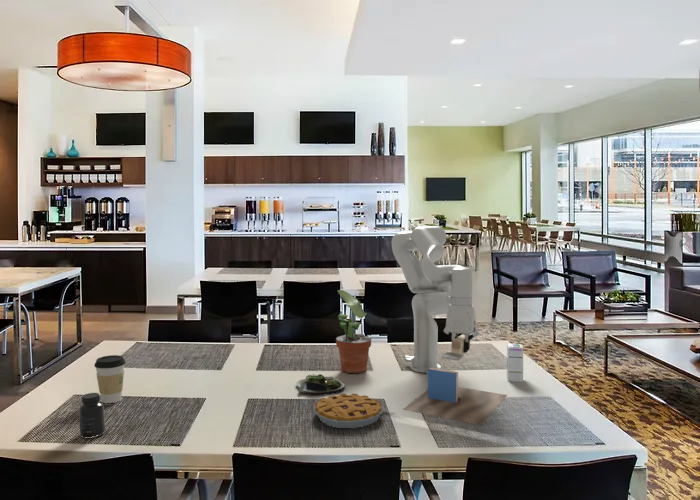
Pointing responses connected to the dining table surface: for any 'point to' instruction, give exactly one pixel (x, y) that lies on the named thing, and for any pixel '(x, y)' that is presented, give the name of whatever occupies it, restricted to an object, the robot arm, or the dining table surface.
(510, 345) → the syrup box
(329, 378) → the salad plate
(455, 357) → the tan bar
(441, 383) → the tile
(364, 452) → the dining table surface
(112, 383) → the coffee cup
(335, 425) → the pie
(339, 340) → the potted plant
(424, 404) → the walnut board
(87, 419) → the supplement bottle
